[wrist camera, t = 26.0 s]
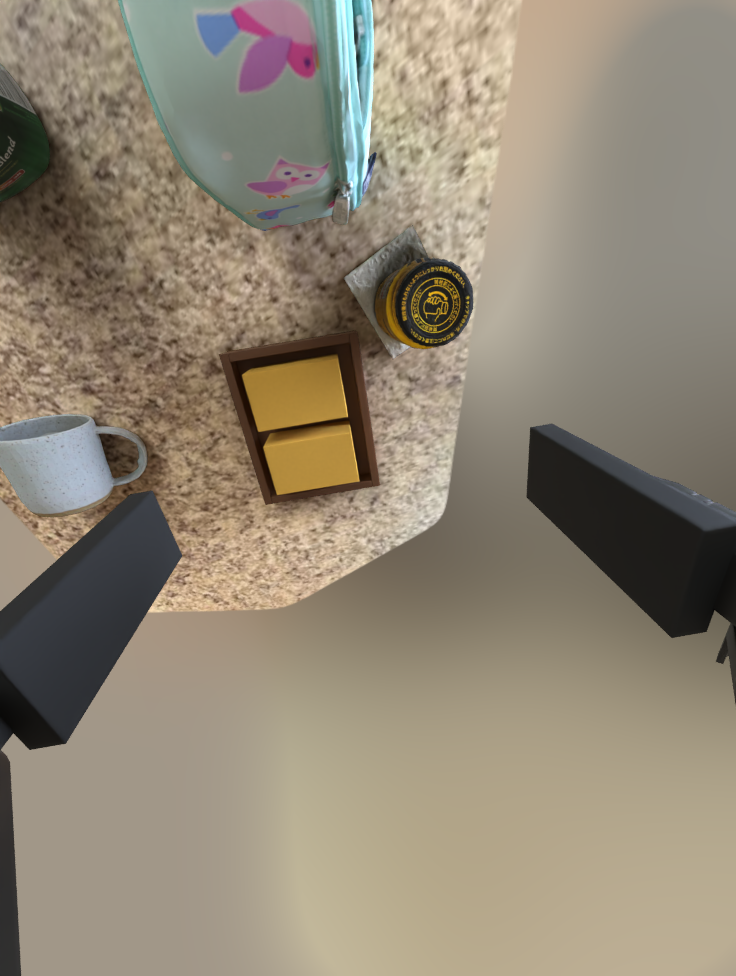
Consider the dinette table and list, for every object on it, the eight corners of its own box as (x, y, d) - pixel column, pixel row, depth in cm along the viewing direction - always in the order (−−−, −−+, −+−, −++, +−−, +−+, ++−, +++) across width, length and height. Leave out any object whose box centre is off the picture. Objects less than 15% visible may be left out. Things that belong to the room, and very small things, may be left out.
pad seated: (282, 477, 41) (276, 495, 37) (270, 433, 38) (262, 447, 34) (357, 465, 41) (359, 481, 37) (349, 419, 38) (351, 432, 35)
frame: (269, 494, 42) (265, 505, 40) (226, 351, 35) (218, 354, 33) (377, 475, 42) (380, 485, 40) (355, 330, 35) (357, 331, 33)
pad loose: (266, 419, 38) (258, 432, 34) (251, 367, 35) (241, 374, 31) (346, 406, 38) (348, 417, 34) (337, 353, 36) (337, 358, 32)
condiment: (392, 359, 37) (417, 379, 26) (343, 278, 33) (348, 262, 23) (456, 314, 35) (509, 316, 25) (411, 225, 32) (451, 182, 21)
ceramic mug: (60, 490, 40) (5, 527, 33) (26, 415, 36) (-44, 440, 29) (162, 482, 40) (128, 517, 34) (138, 408, 37) (96, 431, 30)
